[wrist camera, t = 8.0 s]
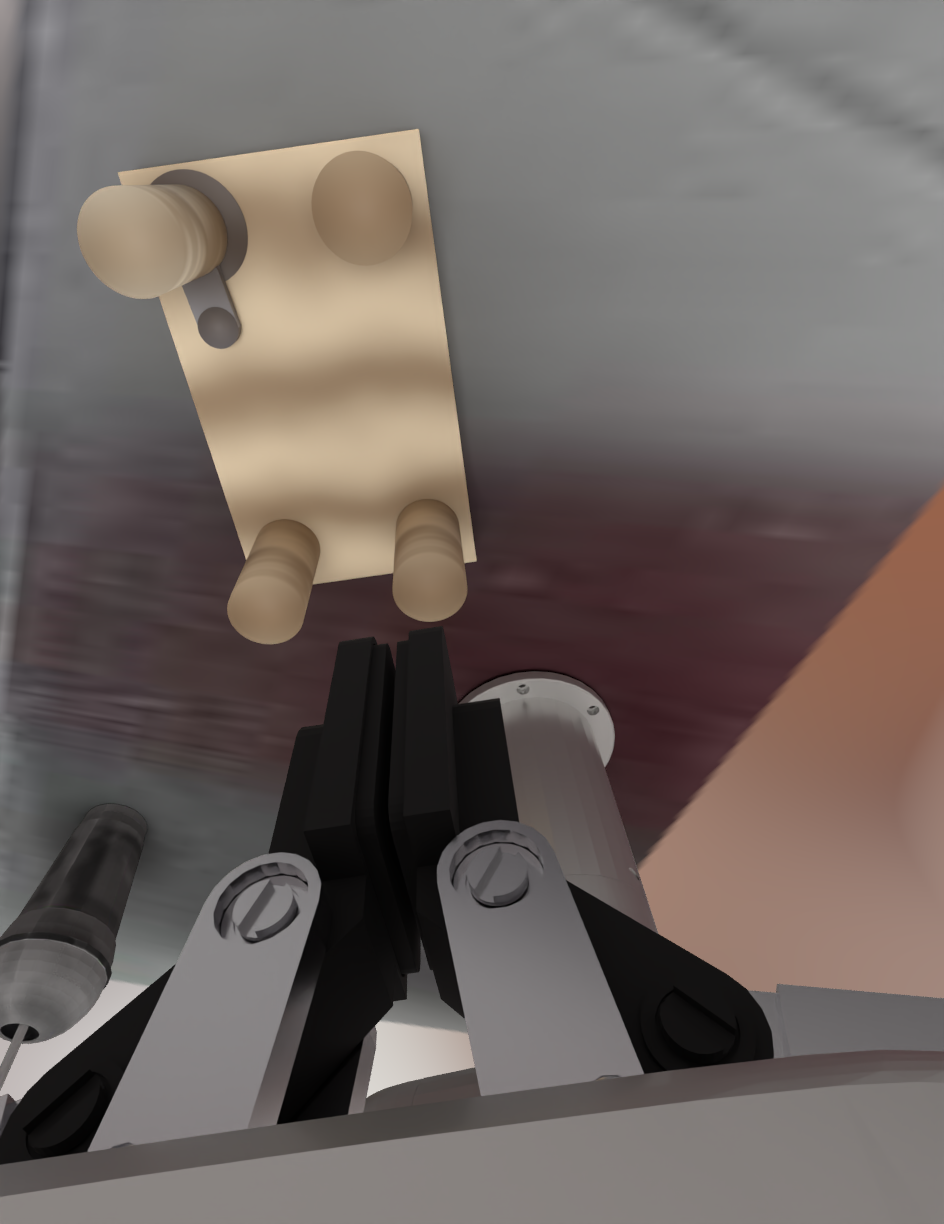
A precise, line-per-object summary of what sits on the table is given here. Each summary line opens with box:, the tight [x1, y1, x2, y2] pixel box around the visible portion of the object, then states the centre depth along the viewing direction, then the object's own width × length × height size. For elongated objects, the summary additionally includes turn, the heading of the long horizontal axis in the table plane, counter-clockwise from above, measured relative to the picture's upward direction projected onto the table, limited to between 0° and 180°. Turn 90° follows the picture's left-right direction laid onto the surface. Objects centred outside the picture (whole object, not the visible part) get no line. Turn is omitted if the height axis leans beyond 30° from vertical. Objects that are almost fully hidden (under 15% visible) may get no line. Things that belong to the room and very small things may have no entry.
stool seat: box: [118, 129, 477, 644], centre depth 34 cm, size 21×13×10 cm, turn 7°
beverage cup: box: [0, 804, 147, 1090], centre depth 45 cm, size 7×7×20 cm
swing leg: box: [77, 184, 241, 349], centre depth 29 cm, size 7×4×7 cm, turn 12°
